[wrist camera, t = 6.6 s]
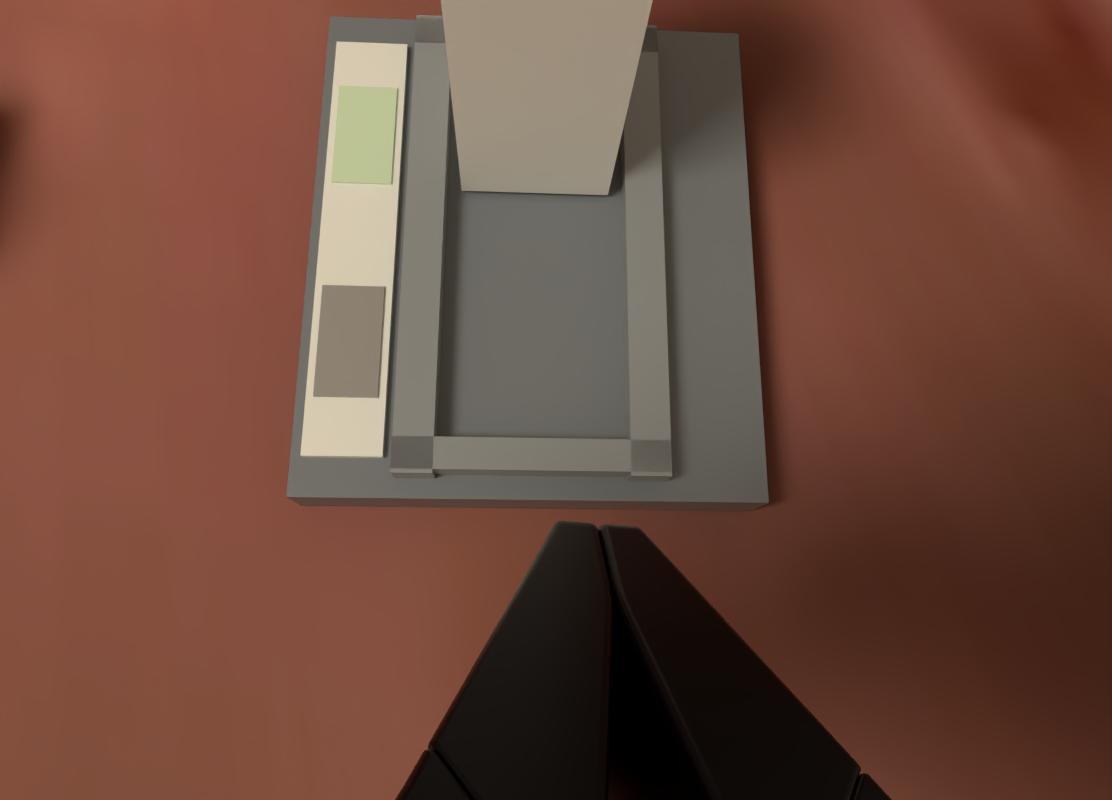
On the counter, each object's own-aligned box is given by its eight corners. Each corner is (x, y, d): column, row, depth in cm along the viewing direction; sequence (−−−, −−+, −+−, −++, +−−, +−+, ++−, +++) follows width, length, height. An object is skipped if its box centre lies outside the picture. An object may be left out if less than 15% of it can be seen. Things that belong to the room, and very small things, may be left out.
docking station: (752, 510, 22) (778, 497, 20) (301, 505, 22) (277, 492, 19) (725, 66, 26) (745, 14, 24) (340, 51, 25) (324, -5, 23)
